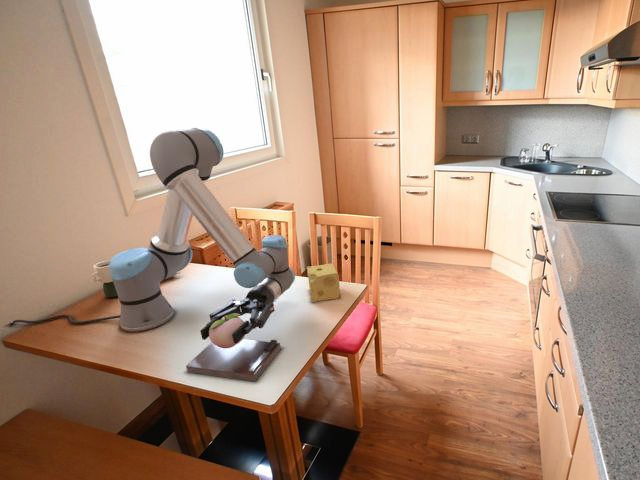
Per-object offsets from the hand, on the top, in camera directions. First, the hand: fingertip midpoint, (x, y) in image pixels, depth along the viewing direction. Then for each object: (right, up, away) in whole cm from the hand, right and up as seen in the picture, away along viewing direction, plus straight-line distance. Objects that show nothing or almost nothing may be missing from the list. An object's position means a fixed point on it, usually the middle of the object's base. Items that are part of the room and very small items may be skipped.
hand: (218, 337), depth 96 cm
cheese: (+20, +6, +43) cm, 48 cm away
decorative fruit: (+1, -4, +6) cm, 7 cm away
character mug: (-60, +6, +48) cm, 77 cm away
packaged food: (-49, +11, +61) cm, 80 cm away
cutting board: (+1, -8, +8) cm, 12 cm away
